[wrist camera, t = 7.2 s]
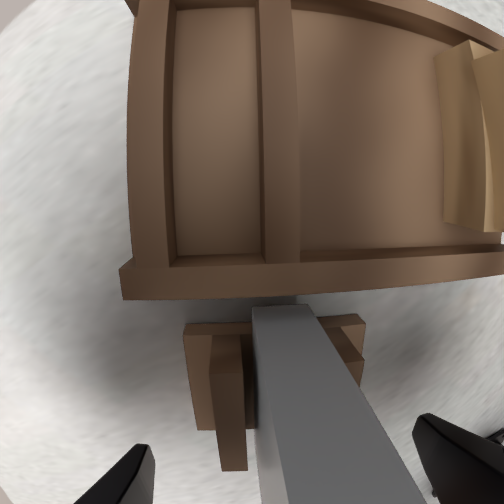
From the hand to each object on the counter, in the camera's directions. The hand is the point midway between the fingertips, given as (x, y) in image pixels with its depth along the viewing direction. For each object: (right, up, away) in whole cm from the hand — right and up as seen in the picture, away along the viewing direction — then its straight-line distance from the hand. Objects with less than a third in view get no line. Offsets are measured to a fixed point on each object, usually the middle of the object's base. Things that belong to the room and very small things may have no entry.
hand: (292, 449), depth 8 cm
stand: (0, +1, +5) cm, 5 cm away
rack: (+2, +11, +3) cm, 11 cm away
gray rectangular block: (0, +1, +4) cm, 4 cm away
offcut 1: (+8, +11, +2) cm, 14 cm away
